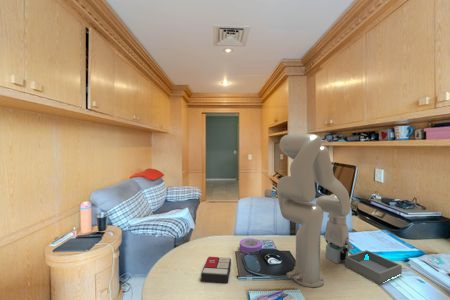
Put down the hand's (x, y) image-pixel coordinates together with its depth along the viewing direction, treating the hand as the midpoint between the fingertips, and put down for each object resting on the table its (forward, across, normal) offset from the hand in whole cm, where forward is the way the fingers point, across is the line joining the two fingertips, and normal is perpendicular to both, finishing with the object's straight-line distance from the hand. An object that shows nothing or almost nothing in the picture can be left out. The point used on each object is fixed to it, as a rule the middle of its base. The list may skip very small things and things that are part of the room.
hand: (336, 256), depth 110 cm
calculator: (+2, -14, -58) cm, 59 cm away
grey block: (+1, 0, 0) cm, 1 cm away
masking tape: (+1, -26, -33) cm, 42 cm away
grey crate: (+1, +14, +5) cm, 15 cm away
